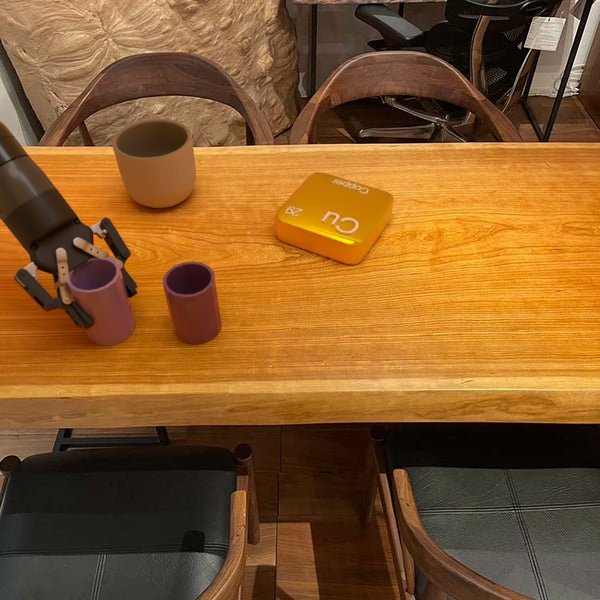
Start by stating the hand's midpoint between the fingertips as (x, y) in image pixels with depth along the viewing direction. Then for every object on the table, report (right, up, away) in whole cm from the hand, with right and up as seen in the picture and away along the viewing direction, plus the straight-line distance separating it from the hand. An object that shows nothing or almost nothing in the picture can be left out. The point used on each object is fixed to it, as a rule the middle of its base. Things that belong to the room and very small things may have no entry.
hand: (112, 310), depth 76 cm
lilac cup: (-1, -2, +4) cm, 5 cm away
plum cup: (+10, -2, +4) cm, 11 cm away
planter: (+1, +20, +25) cm, 32 cm away
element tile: (+30, +13, +19) cm, 38 cm away
